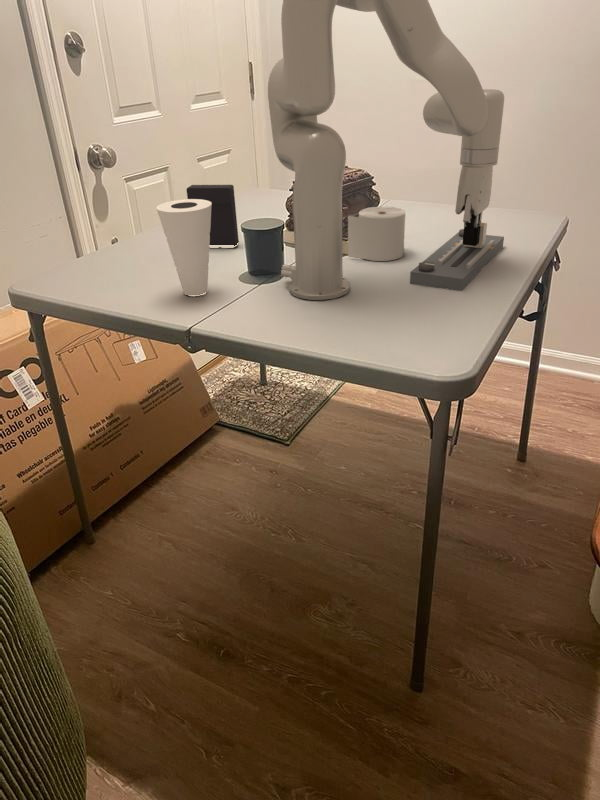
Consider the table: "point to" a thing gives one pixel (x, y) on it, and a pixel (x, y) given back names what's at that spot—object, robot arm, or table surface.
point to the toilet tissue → (377, 234)
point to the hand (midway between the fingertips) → (470, 244)
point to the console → (455, 263)
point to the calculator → (219, 211)
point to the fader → (481, 236)
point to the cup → (188, 240)
